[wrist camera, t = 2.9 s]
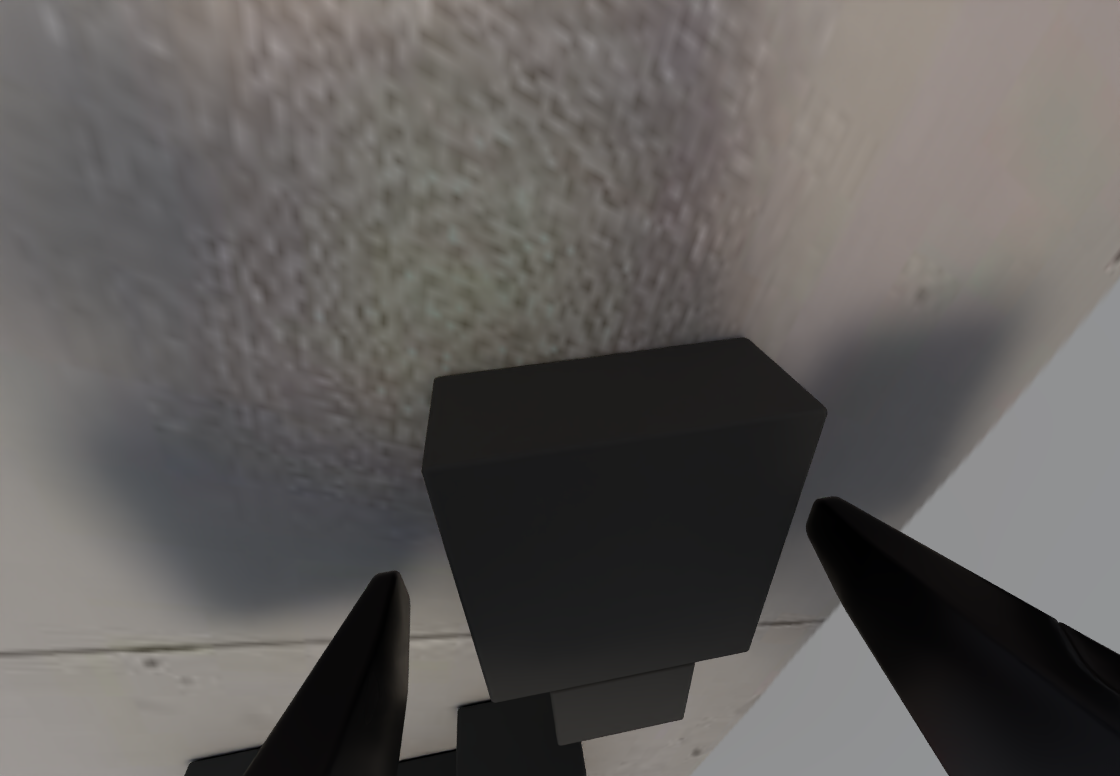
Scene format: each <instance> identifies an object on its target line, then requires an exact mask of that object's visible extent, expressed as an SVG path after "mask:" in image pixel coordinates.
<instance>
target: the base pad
mask: <svg viewBox="0 0 1120 776" xmlns="http://www.w3.org/2000/svg"><path fill="white" fill-rule="evenodd" d="M260 749H261V748H260ZM260 749H255V750H250V751H245V752H240V753H235V754H230V755H225V756H220V757H216V758H211V759H206V760H201V761H196V762H191V763H190V764H189V766H188V768H187V771H186V773H185V776H243V774H244V773H245V771H246V770H247V768H248V767H249V765H250V764H251V762H252V761H253V759H254V758H255V756H256V755H257V753H258V752H259V750H260ZM397 776H586V769H585V763H584V757H583V751H582V745H581V741H580V742H576V743H571V744H566V745H562V746H561V745H558V743H557V737H556V730H555V723H554V716H553V709H552V703H551V696H550V692H546V693H541V694H536V695H531V696H526V697H521V698H516V699H511V700H506V701H502V702H497V703H494V702H488V703H483V704H478V705H473V706H468V707H463V708H460V709H458V717H457V751H453V752H448V753H444V754H439V755H434V756H430V757H425V758H420V759H415V760H411V761H406V762H401V763H399V764H398V771H397Z"/></svg>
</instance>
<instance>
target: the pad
mask: <svg viewBox="0 0 1120 776" xmlns="http://www.w3.org/2000/svg"><path fill="white" fill-rule="evenodd" d="M826 416H827V409H826V407H824V406H823V405H822V404H821V403H820V402H819V401H818V400H817V399H815V398H814V397H813V396H812V395H811V394H810V393H809V392H808V391H806V390H805V389H804V388H803V387H802V386H801V385H800V384H799V383H797V382H796V381H795V380H794V379H793V378H792V377H791V376H790V375H788V374H787V373H786V372H785V371H784V370H783V369H782V368H781V367H779V366H778V365H777V364H776V363H775V362H774V361H773V360H772V359H770V358H769V357H768V356H767V355H766V354H765V353H764V352H763V351H761V350H760V349H759V348H758V347H757V346H756V345H755V344H754V343H752V342H751V341H750V340H749V339H747V338H737V339H729V340H722V341H714V342H706V343H698V344H691V345H683V346H675V347H667V348H660V349H652V350H644V351H636V352H629V353H621V354H613V355H605V356H598V357H590V358H582V359H574V360H567V361H559V362H551V363H543V364H536V365H528V366H520V367H512V368H505V369H497V370H489V371H481V372H474V373H466V374H458V375H450V376H443V377H437V378H435V379H434V384H433V391H432V398H431V406H430V413H429V420H428V427H427V434H426V442H425V449H424V456H423V463H422V471H421V472H422V475H423V478H424V481H425V485H426V488H427V491H428V495H429V498H430V501H431V504H432V508H433V511H434V514H435V518H436V521H437V524H438V527H439V531H440V534H441V537H442V541H443V544H444V547H445V550H446V554H447V557H448V560H449V564H450V567H451V570H452V573H453V577H454V580H455V583H456V587H457V590H458V593H459V596H460V600H461V603H462V606H463V610H464V613H465V616H466V619H467V623H468V626H469V629H470V632H471V636H472V639H473V642H474V646H475V649H476V652H477V655H478V659H479V662H480V665H481V669H482V672H483V675H484V678H485V682H486V685H487V688H488V692H489V695H490V698H491V701H492V702H494V703H497V702H502V701H506V700H511V699H516V698H521V697H526V696H531V695H536V694H541V693H546V692H550V696H551V703H552V709H553V716H554V723H555V730H556V737H557V743H558V745H561V746H562V745H566V744H571V743H576V742H580V741H585V740H590V739H594V738H599V737H603V736H608V735H613V734H617V733H622V732H627V731H631V730H636V729H640V728H645V727H650V726H654V725H659V724H664V723H668V722H673V721H677V720H682V719H683V717H684V712H685V708H686V703H687V698H688V694H689V689H690V684H691V679H692V675H693V670H694V665H695V662H698V661H703V660H708V659H713V658H718V657H723V656H728V655H733V654H738V653H742V652H747V651H748V650H749V648H750V645H751V642H752V639H753V636H754V633H755V630H756V627H757V624H758V621H759V618H760V615H761V612H762V609H763V606H764V603H765V600H766V597H767V594H768V591H769V588H770V585H771V582H772V579H773V576H774V573H775V570H776V567H777V564H778V561H779V558H780V555H781V552H782V549H783V546H784V543H785V540H786V537H787V534H788V531H789V528H790V525H791V522H792V519H793V516H794V513H795V510H796V507H797V503H798V500H799V497H800V494H801V491H802V488H803V485H804V482H805V479H806V476H807V473H808V470H809V467H810V464H811V461H812V458H813V455H814V452H815V449H816V446H817V443H818V440H819V437H820V434H821V431H822V428H823V425H824V422H825V419H826Z"/></svg>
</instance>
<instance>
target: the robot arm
mask: <svg viewBox="0 0 1120 776" xmlns="http://www.w3.org/2000/svg"><path fill="white" fill-rule="evenodd" d="M806 532H807V535H808V538H809V540H810V542H811V544H812V546H813V548H814V550H815V552H816V554H817V556H818V558H819V560H820V562H821V564H822V566H823V568H824V570H825V572H826V574H827V576H828V578H829V580H830V582H831V584H832V586H833V588H834V590H835V592H836V594H837V596H838V597H839V599H840V601H841V603H842V605H843V607H844V608H845V610H846V612H847V613H848V615H849V617H850V618H851V620H852V621H853V623H854V625H855V626H856V628H857V629H858V631H859V633H860V634H861V636H862V638H863V639H864V641H865V642H866V644H867V646H868V647H869V649H870V650H871V652H872V654H873V655H874V657H875V658H876V660H877V662H878V663H879V665H880V666H881V668H882V670H883V671H884V673H885V674H886V676H887V678H888V679H889V681H890V682H891V684H892V686H893V687H894V689H895V690H896V692H897V694H898V695H899V697H900V698H901V700H902V702H903V703H904V705H905V706H906V708H907V710H908V711H909V713H910V715H911V716H912V718H913V719H914V721H915V722H916V724H917V726H918V727H919V729H920V731H921V732H922V734H923V735H924V737H925V739H926V740H927V742H928V743H929V745H930V747H931V748H932V750H933V751H934V753H935V755H936V756H937V758H938V759H939V761H940V763H941V764H942V766H943V767H944V769H945V771H946V772H947V774H948V775H949V776H1120V654H1118V653H1116V652H1114V651H1112V650H1110V649H1109V648H1107V647H1105V646H1103V645H1101V644H1099V643H1098V642H1096V641H1094V640H1092V639H1090V638H1089V637H1087V636H1085V635H1083V634H1081V633H1080V632H1078V631H1076V630H1074V629H1073V628H1071V627H1069V626H1067V625H1065V624H1064V623H1061V622H1059V623H1058V621H1057V620H1056V619H1055V618H1053V617H1051V616H1049V615H1047V614H1046V613H1044V612H1042V611H1040V610H1038V609H1037V608H1035V607H1033V606H1031V605H1030V604H1028V603H1026V602H1024V601H1023V600H1021V599H1019V598H1017V597H1015V596H1014V595H1012V594H1010V593H1008V592H1006V591H1005V590H1003V589H1001V588H999V587H998V586H996V585H994V584H992V583H991V582H989V581H987V580H985V579H983V578H982V577H980V576H978V575H976V574H974V573H973V572H971V571H969V570H967V569H966V568H964V567H962V566H960V565H958V564H957V563H955V562H953V561H951V560H950V559H948V558H946V557H944V556H943V555H940V554H939V553H937V552H935V551H934V550H932V549H930V548H928V547H927V546H925V545H923V544H921V543H919V542H918V541H916V540H914V539H912V538H911V537H909V536H907V535H905V534H903V533H902V532H900V531H898V530H896V529H895V528H893V527H891V526H889V525H887V524H886V523H884V522H882V521H880V520H879V519H877V518H875V517H873V516H871V515H870V514H868V513H866V512H864V511H863V510H861V509H859V508H857V507H855V506H854V505H852V504H850V503H848V502H847V501H845V500H843V499H841V498H839V497H835V496H831V497H825V498H819V499H817V500H816V501H815V502H814V503H813V506H812V509H811V512H810V514H809V517H808V520H807V523H806ZM409 638H410V598H409V594H408V591H407V589H406V587H405V584H404V582H403V579H402V577H401V574H400V573H399V572H398V571H389V572H383V573H378V574H377V575H375V576H374V577H373V578H372V580H371V581H370V583H369V584H368V586H367V587H366V589H365V591H364V592H363V594H362V595H361V597H360V598H359V600H358V601H357V603H356V604H355V606H354V607H353V609H352V610H351V612H350V613H349V615H348V616H347V618H346V619H345V621H344V622H343V624H342V625H341V627H340V629H339V630H338V632H337V633H336V635H335V636H334V638H333V639H332V641H331V642H330V644H329V645H328V647H327V648H326V650H325V651H324V653H323V654H322V656H321V657H320V659H319V660H318V662H317V663H316V665H315V667H314V668H313V670H312V671H311V673H310V674H309V676H308V677H307V679H306V680H305V682H304V683H303V685H302V686H301V688H300V689H299V691H298V692H297V694H296V695H295V697H294V698H293V700H292V702H291V703H290V705H289V706H288V708H287V709H286V711H285V712H284V714H283V715H282V717H281V718H280V720H279V721H278V723H277V724H276V726H275V727H274V729H273V730H272V732H271V733H270V735H269V736H268V738H267V740H266V741H265V743H264V744H263V746H262V747H261V749H260V750H259V752H258V753H257V755H256V756H255V758H254V759H253V761H252V762H251V764H250V765H249V767H248V768H247V770H246V771H245V773H244V774H243V776H397V771H398V764H399V756H400V749H401V741H402V734H403V726H404V719H405V711H406V703H407V694H408V674H409Z"/></svg>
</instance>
